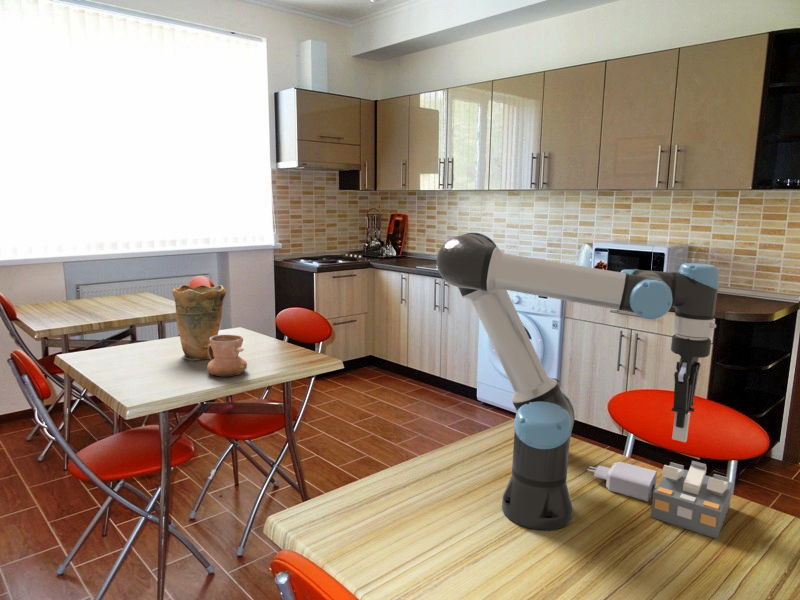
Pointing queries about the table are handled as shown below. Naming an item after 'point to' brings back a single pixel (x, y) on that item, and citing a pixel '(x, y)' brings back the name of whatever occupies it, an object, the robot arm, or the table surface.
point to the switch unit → (691, 506)
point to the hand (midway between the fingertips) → (679, 439)
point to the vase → (198, 317)
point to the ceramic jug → (226, 355)
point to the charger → (628, 479)
